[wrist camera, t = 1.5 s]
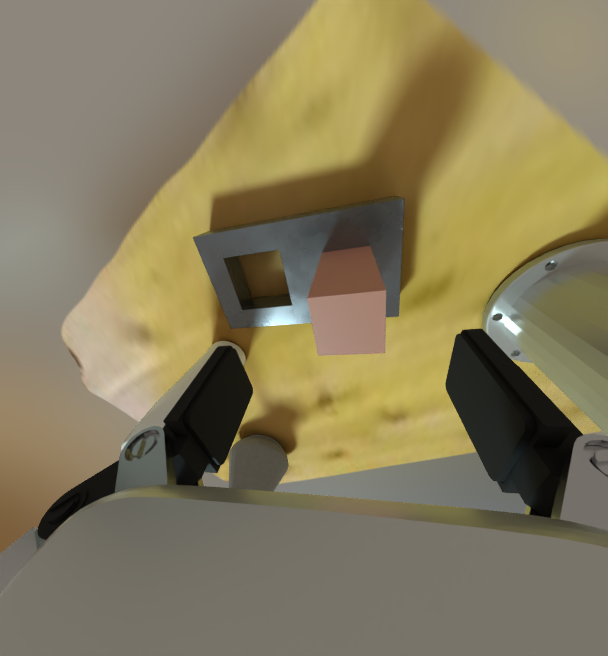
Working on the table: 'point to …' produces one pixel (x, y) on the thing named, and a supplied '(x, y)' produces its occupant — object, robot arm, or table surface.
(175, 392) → the drinking glass
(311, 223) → the square hole plate
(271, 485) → the coffee pot
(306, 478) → the table surface
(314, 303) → the square peg
